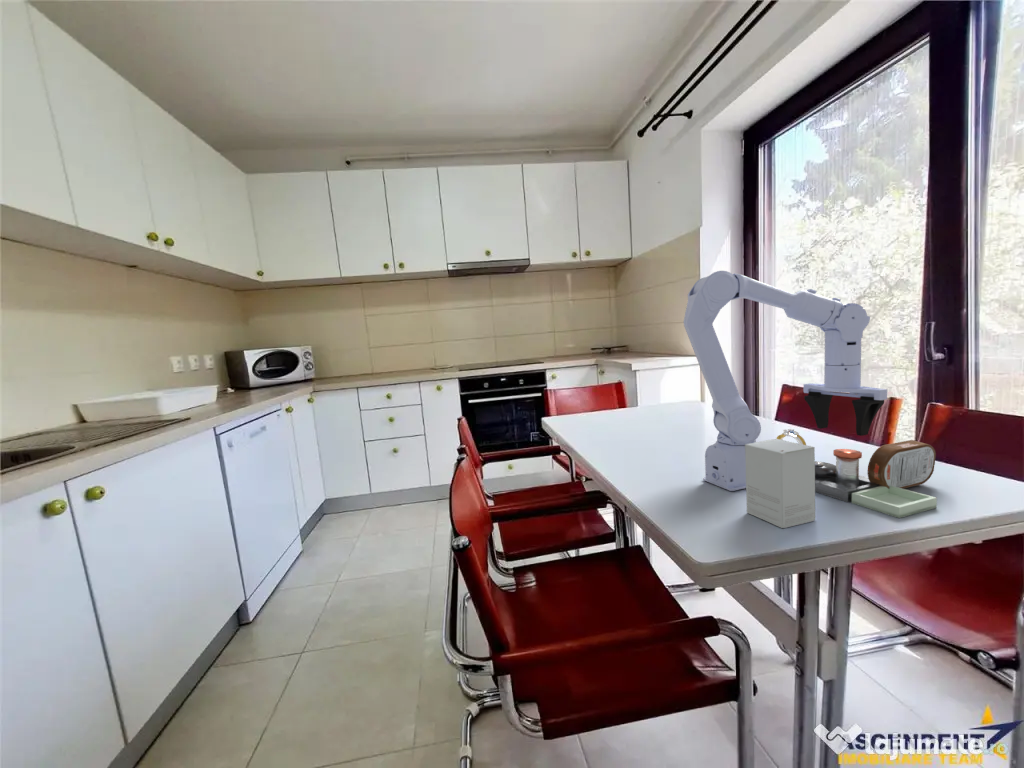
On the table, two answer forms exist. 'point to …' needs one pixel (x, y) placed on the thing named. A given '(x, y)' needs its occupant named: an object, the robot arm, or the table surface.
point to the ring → (792, 434)
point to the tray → (894, 501)
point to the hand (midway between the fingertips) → (841, 431)
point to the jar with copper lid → (847, 467)
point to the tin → (902, 464)
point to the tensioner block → (828, 486)
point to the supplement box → (780, 482)
